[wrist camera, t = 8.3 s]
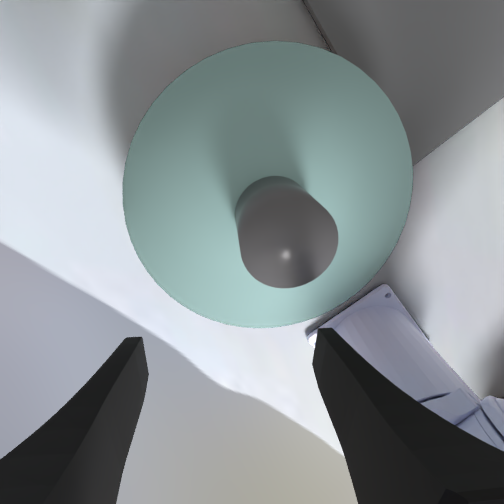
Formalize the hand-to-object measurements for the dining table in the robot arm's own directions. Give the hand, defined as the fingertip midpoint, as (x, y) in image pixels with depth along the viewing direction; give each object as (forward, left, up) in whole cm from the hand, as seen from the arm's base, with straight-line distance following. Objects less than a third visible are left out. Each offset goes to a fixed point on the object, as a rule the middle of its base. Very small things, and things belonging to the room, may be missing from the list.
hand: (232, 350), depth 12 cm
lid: (+2, -4, -6) cm, 8 cm away
